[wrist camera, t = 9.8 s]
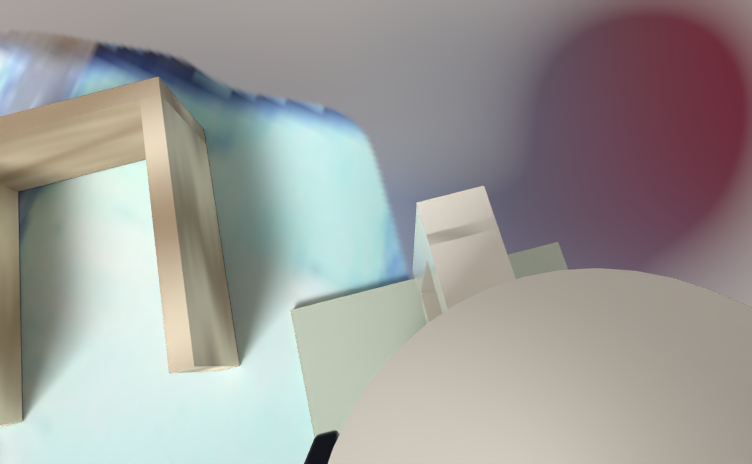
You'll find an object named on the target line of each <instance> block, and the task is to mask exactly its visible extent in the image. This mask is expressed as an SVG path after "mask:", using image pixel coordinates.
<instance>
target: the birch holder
mask: <svg viewBox="0 0 752 464" xmlns="http://www.w3.org/2000/svg"><path fill="white" fill-rule="evenodd" d="M145 159H146V163H147V172H148V182H149V191H150V200H151V209H152V218H153V228H154V237H155V246H156V255H157V265H158V274H159V283H160V292H161V301H162V311H163V320H164V329H165V338H166V347H167V357H168V366H169V373H182V372H209V371H222V370H226V369H230V368H234V367H238V366H240V365H239V358H238V352H237V345H236V339H235V332H234V326H233V319H232V312H231V306H230V299H229V293H228V286H227V280H226V273H225V266H224V260H223V253H222V247H221V240H220V234H219V227H218V220H217V214H216V207H215V201H214V194H213V188H212V181H211V174H210V168H209V161H208V155H207V148H206V142H205V135H204V129H203V128H202V127H201V125H200V124H199V123H198V122H197V121H196V120H195V118H194V117H193V116H192V115H191V114H190V113H189V112H188V110H187V109H186V108H185V107H184V106H183V105H182V103H181V102H180V101H179V100H178V99H177V98H176V97H175V95H174V94H173V93H172V92H171V91H170V90H169V88H168V87H167V86H166V85H165V84H164V83H163V82H162V80H161V79H160V78H159V77H155V78H151V79H147V80H143V81H139V82H135V83H131V84H127V85H123V86H119V87H116V88H112V89H108V90H104V91H100V92H96V93H92V94H88V95H84V96H80V97H76V98H72V99H68V100H64V101H60V102H56V103H52V104H48V105H45V106H41V107H37V108H33V109H29V110H25V111H21V112H17V113H13V114H9V115H5V116H1V117H0V427H4V426H8V425H12V424H16V423H20V422H22V375H21V321H20V266H19V211H18V192H19V191H23V190H27V189H31V188H35V187H39V186H43V185H47V184H51V183H55V182H59V181H63V180H67V179H70V178H74V177H78V176H82V175H86V174H90V173H94V172H98V171H102V170H106V169H110V168H114V167H118V166H122V165H126V164H129V163H133V162H137V161H141V160H145Z"/></svg>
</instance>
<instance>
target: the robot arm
mask: <svg viewBox="0 0 752 464" xmlns="http://www.w3.org/2000/svg"><path fill="white" fill-rule="evenodd" d="M339 435H340V434H339V433H338V431H336V430H332V431H328V432H324V433H321V434H318V435H317V436H316V437H315V439H314V441H313V443H312V446H311V448H310V450H309V453H308V455H307V458H306V460H305V463H304V464H328V461H329V459H330V456H331V453H332V450H333V447H334V445H335V443H336V441H337V439H338V437H339Z"/></svg>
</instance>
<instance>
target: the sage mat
mask: <svg viewBox="0 0 752 464" xmlns="http://www.w3.org/2000/svg"><path fill="white" fill-rule="evenodd" d="M508 258H509V260H510V263H511V266H512V269H513V272H514V275H515V278H516V279H519V278H522V277H525V276H531V275H536V274H542V273H547V272H552V271H558V270H568V267H567V264H566V261H565V259H564V256H563V254H562V251H561V248H560V246H559V243H558V242H554V243H551V244H547V245H543V246H539V247H535V248H532V249H527V250H523V251H520V252H516V253H511V254H508ZM291 315H292V321H293V326H294V331H295V337H296V342H297V347H298V352H299V358H300V363H301V368H302V373H303V379H304V384H305V389H306V394H307V400H308V405H309V410H310V416H311V421H312V426H313V431H314V437H316V436H317V435H318V434H321V433H324V432H328V431H332V430H336V431H338V433H339V434H340V433H341V431H342V429H343V427H344V425H345V423H346V421H347V419H348V417H349V415H350V413H351V411H352V409H353V408H354V406H355V405H356V403H357V402H358V400H359V399H360V397H361V396H362V394H363V393H364V391H365V390H366V388H367V387H368V385H369V384H370V382H371V381H372V379H373V378H374V377H375V375H376V374H377V373H378V372H379V371H380V370H381V369H382V367H383V366H384V365H385V364H386V363H387V362H388V360H389V359H390V358H391V357H392V356H393V355H394V354H395V352H396V351H397V350H398V349H399V348H400V347H401V346H402V345H403V344H405V343H406V342H407V341H408V340H409V339H410V338H411V337H413V336H414V335H415V334H416V333H417V332H418V331H419V330H421V329H422V328H423V327H424V326H425V325H426V324H427V323H426V319H425V315H424V312H423V308H422V304H421V301H420V297H419V294H418V290H417V286H416V283H415V279H410V280H406V281H402V282H398V283H394V284H390V285H387V286H383V287H379V288H375V289H371V290H367V291H363V292H359V293H355V294H351V295H347V296H344V297H340V298H336V299H332V300H328V301H324V302H320V303H316V304H312V305H308V306H305V307H301V308H297V309H293V310H291Z"/></svg>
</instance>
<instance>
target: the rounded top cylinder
mask: <svg viewBox="0 0 752 464" xmlns="http://www.w3.org/2000/svg"><path fill="white" fill-rule="evenodd" d="M413 275H414V279H415V283H416V286H417V290H418V294H419V297H420V301H421V304H422V308H423V312H424V315H425V319H426V323H427V324H426V325H425V326H424V327H423V328H422V329H421V330H419V331H418V332H417V333H416V334H415V335H414V336H413V337H411V338H410V339H409V340H408V341H407V342H406V343H405V344H403V345H402V346H401V347H400V348H399V349H398V350H397V351H396V352H395V354H394V355H393V356H392V357H391V358H390V359H389V360H388V362H387V363H386V364H385V365H384V366H383V367H382V369H381V370H380V371H379V372H378V373H377V374H376V375H375V377H374V378H373V379H372V381H371V382H370V384H369V385H368V387H367V388H366V390H365V391H364V393H363V394H362V396H361V397H360V399H359V400H358V402H357V403H356V405H355V406H354V408H353V409H352V411H351V413H350V415H349V417H348V419H347V421H346V423H345V425H344V427H343V429H342V431H341V433H340V435H339V437H338V439H337V441H336V443H335V445H334V447H333V450H332V453H331V456H330V459H329V461H328V464H752V308H751V307H749V306H747V305H745V304H742V303H740V302H738V301H735V300H733V299H731V298H729V297H726V296H724V295H722V294H720V293H717V292H715V291H713V290H710V289H707V288H703V287H700V286H697V285H694V284H690V283H688V282H684V281H681V280H678V279H675V278H670V277H665V276H660V275H655V274H649V273H644V272H639V271H632V270H618V269H603V268H589V269H571V270H558V271H552V272H547V273H542V274H536V275H531V276H525V277H522V278H519V279H516V278H515V275H514V272H513V269H512V266H511V263H510V260H509V258H508V255H507V252H506V249H505V246H504V243H503V240H502V237H501V234H500V231H499V228H498V225H497V223H496V219H495V217H494V214H493V211H492V208H491V205H490V202H489V199H488V196H487V193H486V190H485V187H484V186H480V187H476V188H472V189H469V190H465V191H460V192H457V193H453V194H449V195H445V196H441V197H437V198H433V199H429V200H425V201H421V202H417V209H416V225H415V242H414V259H413Z"/></svg>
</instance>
